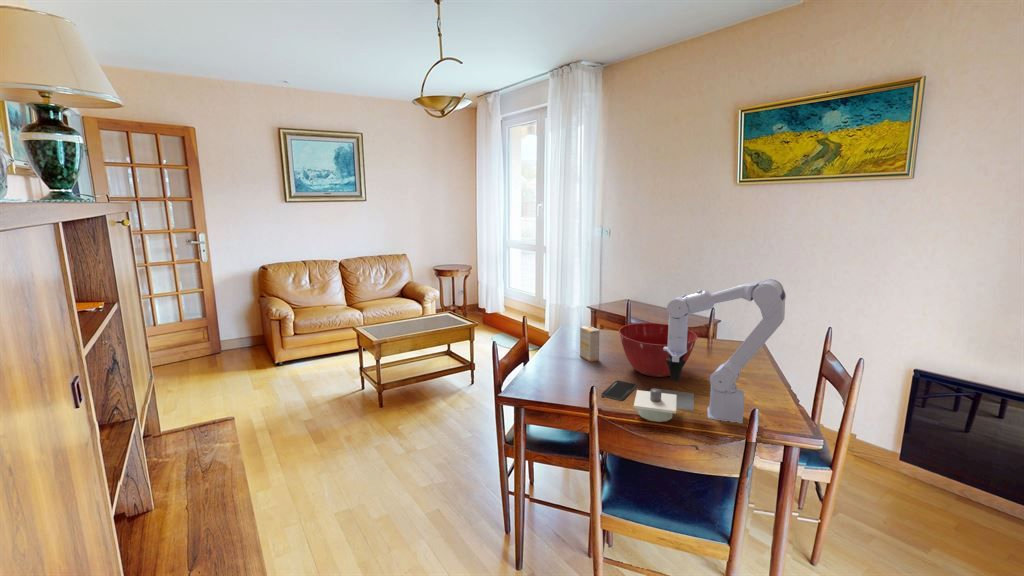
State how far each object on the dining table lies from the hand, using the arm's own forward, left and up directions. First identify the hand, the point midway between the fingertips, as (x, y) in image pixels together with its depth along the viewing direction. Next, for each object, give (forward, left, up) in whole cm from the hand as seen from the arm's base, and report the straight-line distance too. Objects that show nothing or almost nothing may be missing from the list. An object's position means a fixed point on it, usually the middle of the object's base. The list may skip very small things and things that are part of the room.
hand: (675, 376), depth 149 cm
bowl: (+5, +10, -9) cm, 15 cm away
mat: (+1, -3, -9) cm, 10 cm away
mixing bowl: (+8, -28, -10) cm, 31 cm away
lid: (+5, +10, -5) cm, 12 cm away
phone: (+18, -4, -10) cm, 21 cm away
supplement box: (+35, -34, -10) cm, 50 cm away
